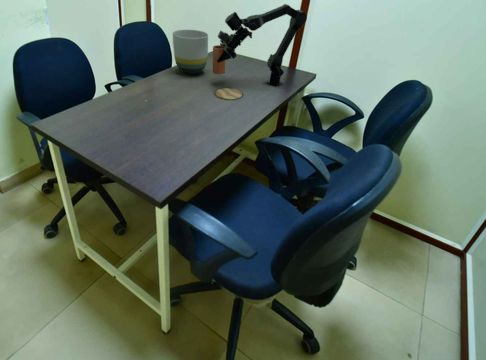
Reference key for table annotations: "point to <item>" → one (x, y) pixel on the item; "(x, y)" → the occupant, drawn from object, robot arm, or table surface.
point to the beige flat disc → (228, 93)
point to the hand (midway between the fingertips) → (216, 59)
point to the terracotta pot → (217, 52)
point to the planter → (190, 50)
